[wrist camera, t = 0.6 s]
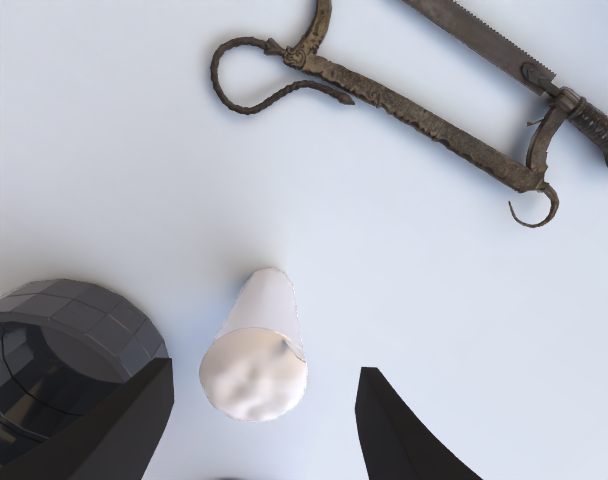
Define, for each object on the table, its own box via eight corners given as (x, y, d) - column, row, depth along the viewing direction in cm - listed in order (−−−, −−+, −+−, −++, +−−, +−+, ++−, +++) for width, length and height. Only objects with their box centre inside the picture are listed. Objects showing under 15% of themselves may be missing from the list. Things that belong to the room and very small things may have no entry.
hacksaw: (646, 147, 19) (675, 148, 18) (529, 284, 22) (545, 295, 20) (290, -121, 15) (290, -148, 13) (199, 91, 17) (191, 88, 16)
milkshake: (325, 277, 21) (350, 393, 12) (274, 331, 22) (258, 476, 13) (271, 234, 20) (249, 323, 11) (220, 293, 21) (160, 420, 12)
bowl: (164, 432, 25) (137, 494, 21) (-3, 409, 24) (-68, 469, 20) (179, 294, 21) (150, 334, 17) (-17, 259, 20) (-101, 293, 16)
